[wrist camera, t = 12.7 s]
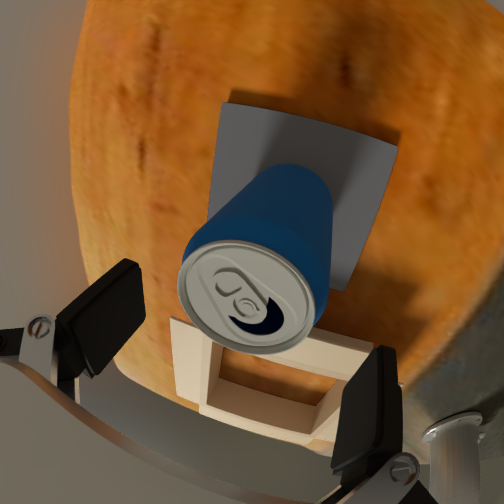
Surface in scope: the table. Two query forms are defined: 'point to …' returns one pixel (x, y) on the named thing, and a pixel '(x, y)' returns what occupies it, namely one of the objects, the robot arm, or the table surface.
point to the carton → (259, 403)
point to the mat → (313, 158)
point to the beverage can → (262, 263)
